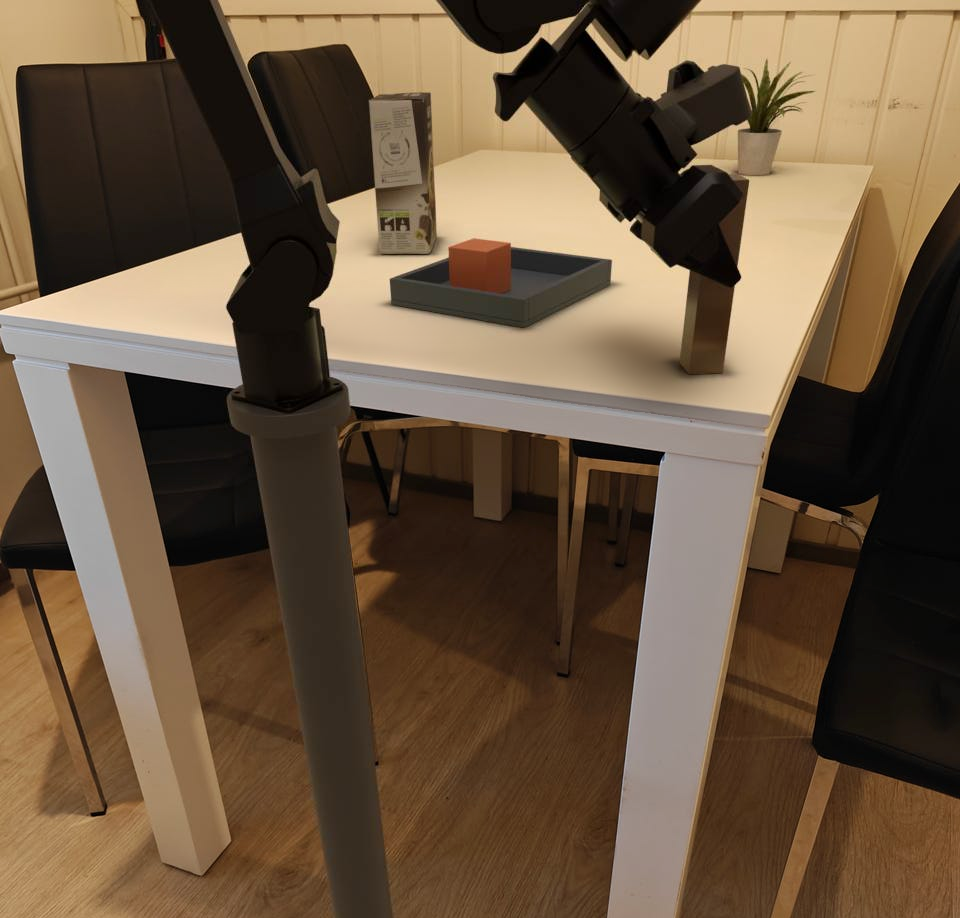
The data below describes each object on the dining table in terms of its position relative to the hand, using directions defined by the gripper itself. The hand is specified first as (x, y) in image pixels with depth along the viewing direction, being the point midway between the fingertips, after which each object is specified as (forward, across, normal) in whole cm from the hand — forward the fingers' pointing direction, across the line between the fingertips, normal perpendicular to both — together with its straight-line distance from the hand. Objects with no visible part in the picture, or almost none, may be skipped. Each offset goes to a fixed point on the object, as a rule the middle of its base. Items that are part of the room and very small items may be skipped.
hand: (729, 277), depth 70 cm
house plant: (+30, +93, -20) cm, 99 cm away
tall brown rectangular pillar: (+4, 0, +6) cm, 7 cm away
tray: (-5, +25, +15) cm, 30 cm away
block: (-8, +24, +17) cm, 30 cm away
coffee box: (-12, +49, +22) cm, 55 cm away
